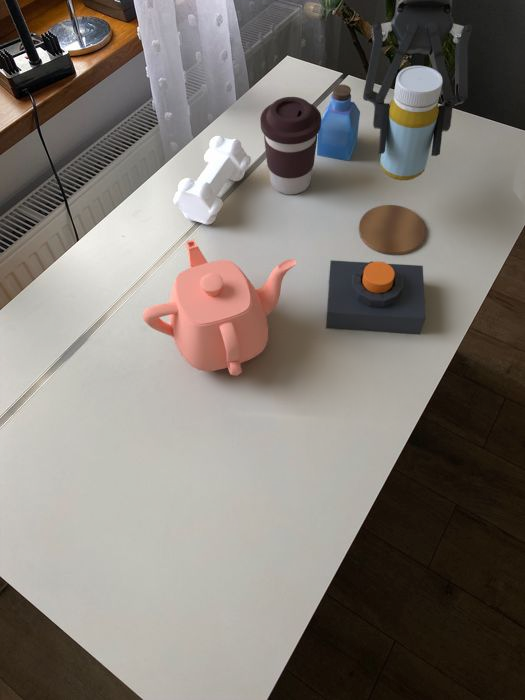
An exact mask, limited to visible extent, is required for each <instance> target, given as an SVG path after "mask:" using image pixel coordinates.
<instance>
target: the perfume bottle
mask: <svg viewBox="0 0 525 700" xmlns="http://www.w3.org/2000/svg"><path fill="white" fill-rule="evenodd" d="M351 92H352V88H351V87H350V86H349V85H347V84H337V85H335V86H333V88H332V94H331V96H330V101H329V103H328V104H327V106H326V108H325V110H324V113H323V115H322V116H321V128H320V131H319V132H318V134H317V144H316V156H320V157H325V158H330V159H337V160H342V161H347V162H350V160H351V157H352V155H353V153H354V149H355V147H356V145H357V144H356V143H357V141H358V135H359V127H360V126H359V125H360V117H361V111H360V109H359V107H358V105H357V104H356V103H355V102H354V101H352V94H351Z"/></svg>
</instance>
